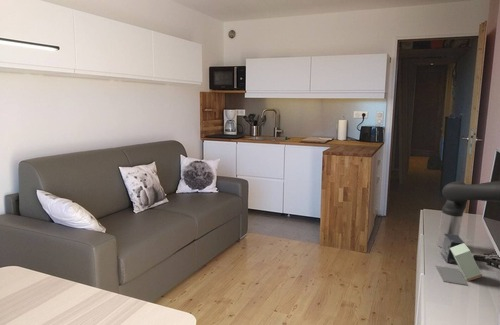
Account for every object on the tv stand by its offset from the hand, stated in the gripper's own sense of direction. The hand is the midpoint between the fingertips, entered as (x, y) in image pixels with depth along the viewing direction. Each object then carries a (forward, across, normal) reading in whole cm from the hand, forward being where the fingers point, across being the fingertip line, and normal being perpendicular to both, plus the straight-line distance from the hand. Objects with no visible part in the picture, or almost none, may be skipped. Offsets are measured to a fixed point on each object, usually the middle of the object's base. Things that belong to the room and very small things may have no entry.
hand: (473, 257), depth 158 cm
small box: (+3, -17, +9) cm, 20 cm away
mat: (+8, +1, +9) cm, 12 cm away
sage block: (0, 0, +8) cm, 8 cm away
